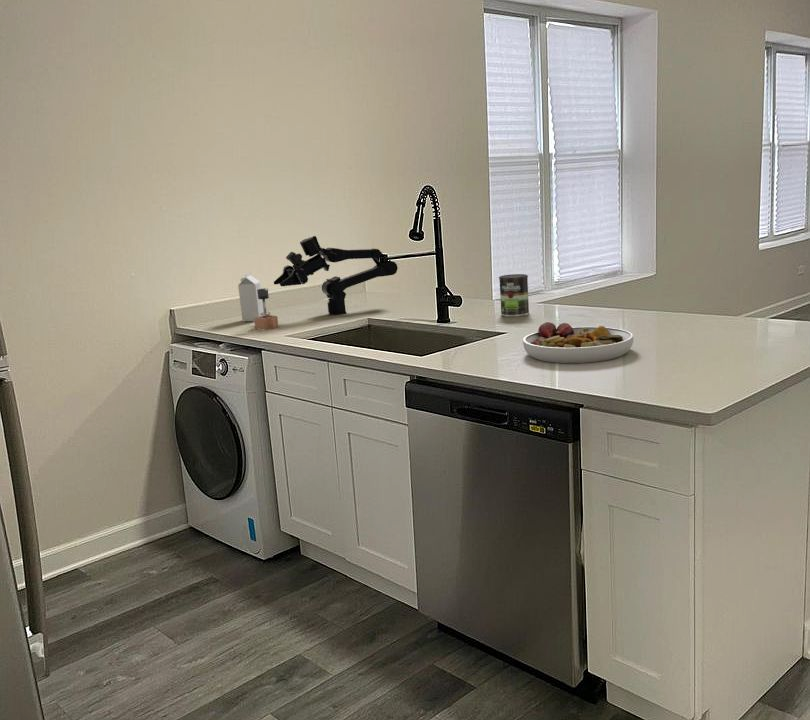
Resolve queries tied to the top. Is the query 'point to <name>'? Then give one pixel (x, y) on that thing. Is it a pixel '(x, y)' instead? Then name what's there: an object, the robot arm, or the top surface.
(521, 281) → the coffee can
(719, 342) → the top surface
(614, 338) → the bowl
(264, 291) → the plunger
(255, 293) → the milk carton
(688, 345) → the top surface
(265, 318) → the reddish brown block
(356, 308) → the top surface
